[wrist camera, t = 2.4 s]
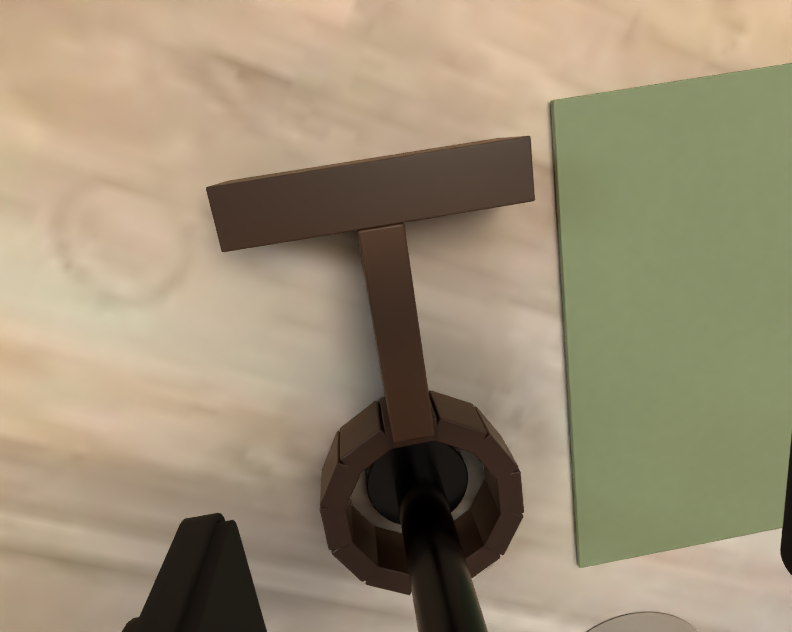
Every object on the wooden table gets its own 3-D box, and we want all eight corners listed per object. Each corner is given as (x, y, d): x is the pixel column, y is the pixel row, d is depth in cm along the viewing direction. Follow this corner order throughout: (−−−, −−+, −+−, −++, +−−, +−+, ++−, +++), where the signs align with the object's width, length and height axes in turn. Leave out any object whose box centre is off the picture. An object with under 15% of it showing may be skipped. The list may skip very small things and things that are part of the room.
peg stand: (374, 526, 25) (434, 1175, 9) (358, 441, 23) (395, 1029, 8) (470, 508, 25) (690, 1110, 9) (459, 422, 23) (694, 959, 8)
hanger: (533, 528, 25) (562, 586, 22) (320, 570, 25) (317, 635, 22) (499, 138, 20) (530, 135, 17) (227, 180, 20) (205, 187, 16)
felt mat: (577, 563, 26) (580, 568, 26) (550, 101, 20) (553, 100, 20) (870, 505, 27) (876, 509, 27) (934, 41, 21) (942, 39, 20)
